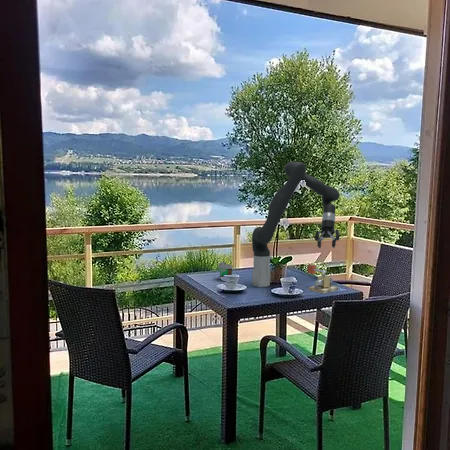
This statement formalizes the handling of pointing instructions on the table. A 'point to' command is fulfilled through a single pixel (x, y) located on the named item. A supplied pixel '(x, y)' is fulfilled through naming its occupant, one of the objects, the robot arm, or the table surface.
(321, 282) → the valve body
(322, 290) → the mounting board
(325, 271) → the valve lever
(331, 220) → the robot arm
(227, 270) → the food container
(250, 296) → the table surface
